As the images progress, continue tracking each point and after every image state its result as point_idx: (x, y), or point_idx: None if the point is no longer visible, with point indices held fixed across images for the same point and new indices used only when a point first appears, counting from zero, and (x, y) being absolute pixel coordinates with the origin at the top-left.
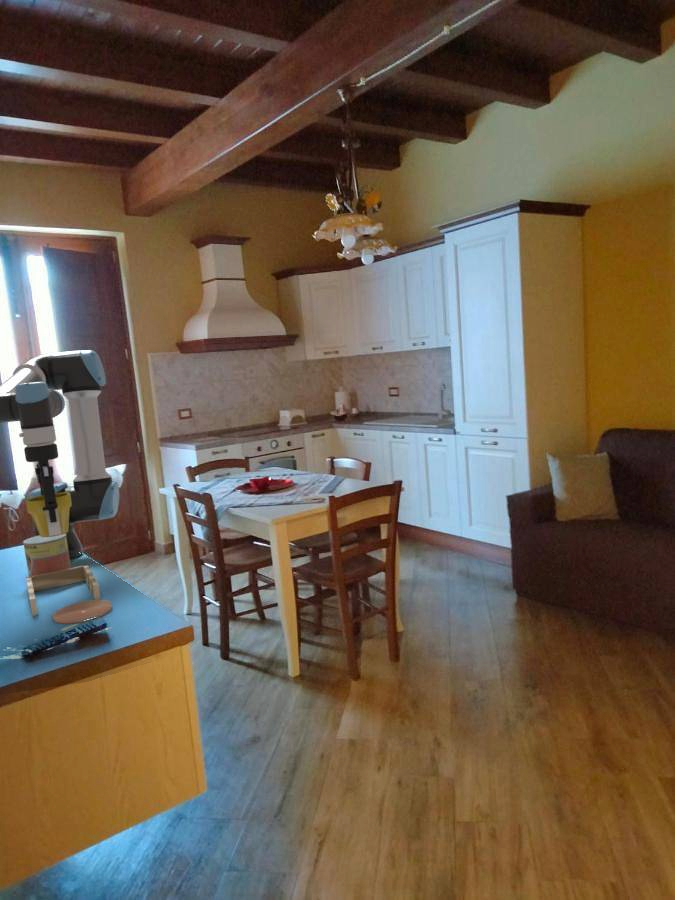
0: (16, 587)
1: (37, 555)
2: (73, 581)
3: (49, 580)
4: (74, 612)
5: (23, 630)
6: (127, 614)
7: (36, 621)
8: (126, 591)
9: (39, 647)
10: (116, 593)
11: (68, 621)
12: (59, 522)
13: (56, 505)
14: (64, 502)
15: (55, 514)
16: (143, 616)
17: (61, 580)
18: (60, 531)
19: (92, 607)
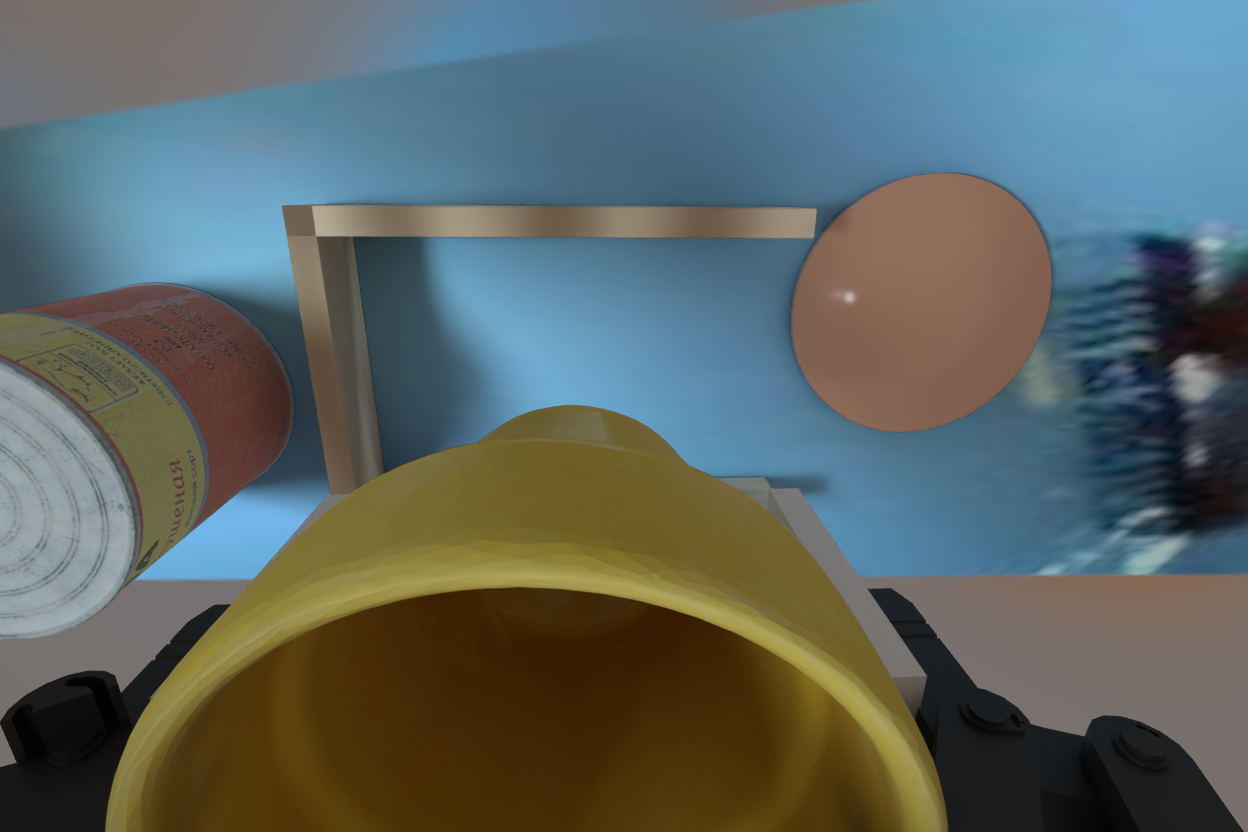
0: (242, 545)
1: (187, 519)
2: (357, 296)
3: (362, 421)
4: (927, 348)
5: (913, 528)
6: (1124, 125)
7: (848, 484)
8: (755, 50)
9: (1149, 486)
10: (745, 111)
11: (1007, 380)
12: (840, 551)
13: (1168, 747)
14: (848, 610)
15: (946, 654)
16: (1226, 59)
17: (359, 360)
18: (803, 503)
19: (930, 267)
